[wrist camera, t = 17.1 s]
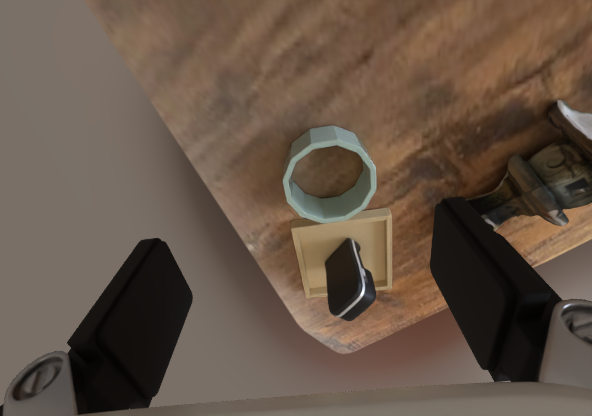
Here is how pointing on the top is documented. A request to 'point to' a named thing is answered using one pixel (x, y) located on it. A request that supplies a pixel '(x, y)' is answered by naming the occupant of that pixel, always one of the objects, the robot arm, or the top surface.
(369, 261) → the tray
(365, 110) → the top surface
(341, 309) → the battery charger
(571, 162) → the sculpture
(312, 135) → the pen cup
